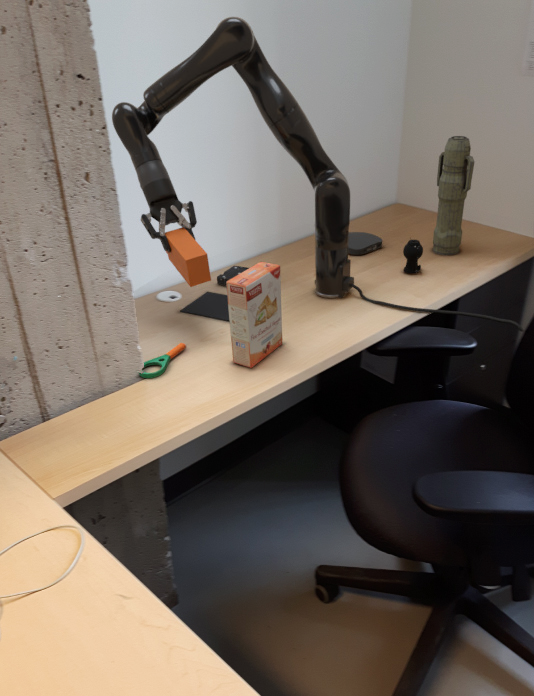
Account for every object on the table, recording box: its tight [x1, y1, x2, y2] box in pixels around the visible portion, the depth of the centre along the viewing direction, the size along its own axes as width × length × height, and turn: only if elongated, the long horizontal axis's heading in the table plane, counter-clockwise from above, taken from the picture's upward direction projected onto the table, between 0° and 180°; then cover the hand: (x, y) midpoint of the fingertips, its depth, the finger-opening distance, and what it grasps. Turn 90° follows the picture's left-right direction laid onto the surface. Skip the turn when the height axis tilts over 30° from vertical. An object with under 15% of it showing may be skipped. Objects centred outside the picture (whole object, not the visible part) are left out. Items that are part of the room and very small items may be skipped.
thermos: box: [432, 135, 475, 256], centre depth 187 cm, size 9×12×35 cm
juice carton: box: [165, 227, 212, 288], centre depth 148 cm, size 17×6×8 cm, turn 29°
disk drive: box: [216, 265, 250, 287], centre depth 181 cm, size 10×3×15 cm
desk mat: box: [179, 291, 230, 323], centre depth 167 cm, size 20×14×1 cm
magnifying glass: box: [138, 342, 187, 379], centre depth 142 cm, size 15×6×2 cm, turn 150°
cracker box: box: [226, 261, 283, 369], centre depth 139 cm, size 14×6×21 cm, turn 148°
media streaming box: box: [348, 231, 383, 256], centre depth 203 cm, size 15×15×3 cm
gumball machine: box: [402, 237, 424, 275], centre depth 180 cm, size 7×6×10 cm
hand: (181, 247), depth 149 cm, fingers closed on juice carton, 5 cm apart
